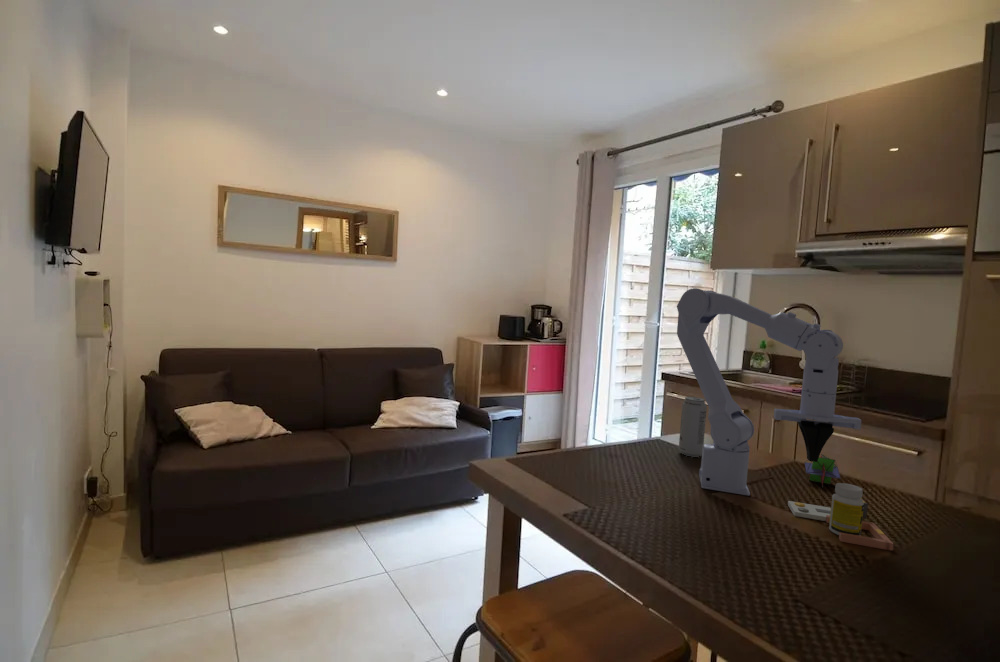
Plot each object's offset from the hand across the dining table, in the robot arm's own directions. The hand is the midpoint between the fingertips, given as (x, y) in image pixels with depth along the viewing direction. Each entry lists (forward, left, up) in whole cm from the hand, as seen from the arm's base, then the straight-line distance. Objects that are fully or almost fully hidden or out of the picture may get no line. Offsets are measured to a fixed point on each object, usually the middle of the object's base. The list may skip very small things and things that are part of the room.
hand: (812, 460), depth 101 cm
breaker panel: (+2, -2, -10) cm, 10 cm away
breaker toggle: (+7, -2, -9) cm, 12 cm away
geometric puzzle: (+7, +20, -10) cm, 23 cm away
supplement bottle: (+4, -10, -10) cm, 14 cm away
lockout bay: (+6, -10, -10) cm, 15 cm away
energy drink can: (-21, +29, -10) cm, 37 cm away
